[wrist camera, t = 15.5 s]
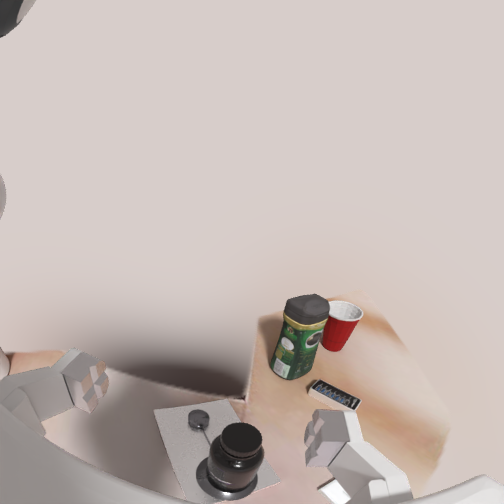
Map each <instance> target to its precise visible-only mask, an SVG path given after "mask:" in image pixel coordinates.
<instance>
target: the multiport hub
mask: <svg viewBox="0 0 504 504" xmlns="http://www.w3.org/2000/svg"><path fill="white" fill-rule="evenodd" d="M308 395H309V396H311V397H313V398H315V399H316V400H318V401H320V402H322V403H324V404H326V405H327V406H329V407H331V408H333V409H335V410H354V411H356V409H357V408H358V406H359V405H360V403H361V401H362V400H361V399H359V398H357V397H355V396H353V395H351V394H349V393H347V392H345V391H342V390H340V389H338V388H337V387H335V386H333V385H331V384H329V383H327V382H325V381H323V380H321V379H319V380H317V381H316V382H315V383H314V384H313V385H312V386H311V387H310V390H309V392H308Z"/></svg>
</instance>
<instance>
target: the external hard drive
mask: <svg viewBox="0 0 504 504" xmlns="http://www.w3.org/2000/svg"><path fill="white" fill-rule="evenodd" d="M318 491H319V492H320V493H321V494H322V495H323V496H324V497H325V498H326V499H327V500H328V501H329V502H330V503H331V504H345V503H346V502H347V501H348V500H350V499H351V498H350V496H349V495H348V494H347V493H346V491H345V490H344V489H343V488H342V486H341V485H340V484H339V483H338V481H337V480H336V479H335V480H333V481H332V482H330V483H329V484H327V485H325V486H324V487H322V488H320V489H319V490H318Z"/></svg>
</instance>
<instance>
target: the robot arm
mask: <svg viewBox="0 0 504 504" xmlns="http://www.w3.org/2000/svg"><path fill="white" fill-rule="evenodd" d="M35 1H36V0H0V38H1V37H3V36H5V35H6V34H8V33H9V32H10V31H11V30H13V29H14V28H15V27H16V26H17V25H18V24H19V23H20V22H21V20H22V19H23V17H24V16H25V15H26V14H27V12H28V11H29V10H30V9H31V7H32V6H33V4H34V3H35ZM5 203H6V189H5V184H4V181H3V179H2V177H1V175H0V218H1V216H2V214H3V211H4V208H5ZM9 367H10V365H9V360H8V358H7V356H6V355H5V354H4V352H3V351H2V349H1V347H0V504H199V503H194V502H190V501H186V500H182V499H179V498H175V497H171V496H168V495H165V494H161V493H158V492H155V491H152V490H149V489H146V488H144V487H141V486H138V485H136V484H133V483H130V482H128V481H125V480H123V479H121V478H118V477H116V476H114V475H111V474H109V473H107V472H105V471H103V470H101V469H99V468H97V467H95V466H93V465H91V464H89V463H87V462H85V461H83V460H81V459H79V458H77V457H76V456H74V455H72V454H70V453H69V452H67V451H65V450H64V449H62V448H60V447H59V446H57V445H55V444H54V443H52V442H51V441H49V440H48V439H46V438H45V437H44V435H45V434H46V431H45V429H44V427H43V425H42V424H41V421H44V420H46V419H48V418H51V417H53V416H55V415H57V414H60V413H62V412H64V411H66V410H68V409H71V408H73V407H74V406H75V407H77V408H79V409H81V410H83V411H86V412H88V413H90V414H91V413H92V411H93V410H94V409H95V407H96V406H97V404H98V398H101V397H103V396H104V395H105V393H106V391H107V388H108V383H109V380H108V376H107V375H106V373H105V372H104V370H105V369H106V365H105V362H104V361H102V360H100V359H98V358H96V357H93V356H91V355H89V354H87V353H84V352H82V351H80V350H78V349H76V348H72V349H70V350H69V351H68V352H67V353H66V354H65V355H64V356H63V357H62V358H60V359H59V360H58V361H57V362H56V363H55V364H54V365H53V366H52V367H51V368H50V367H44V368H40V369H35V370H31V371H27V372H22V373H18V374H13V375H9V376H7V375H8V372H9ZM312 418H313V420H312V421H311V422H309V423H308V425H307V427H306V431H305V437H304V442H305V445H306V446H307V447H308V449H307V451H306V453H305V458H306V467H328V470H329V471H330V472H331V474H332V475H333V476H334V478H335V479H336V480H337V481H338V483H339V484H340V485H341V486H342V488H343V489H344V490H345V491H346V493H347V494H348V495H349V496H350V498H351V499H350V500H348V501H347V502H346V503H345V504H504V485H503V484H501V483H500V482H498V481H496V480H495V479H493V478H491V477H489V476H487V475H479V476H476V477H474V478H471V479H469V480H467V481H465V482H462V483H460V484H457V485H455V486H452V487H450V488H447V489H444V490H441V491H439V492H436V493H433V494H430V495H426V496H423V497H420V498H416V499H413V495H412V492H411V488H410V485H409V482H408V479H407V475H406V474H405V473H404V472H403V471H402V470H400V469H399V468H398V467H397V466H396V465H394V464H393V463H392V462H391V461H390V460H388V459H387V458H386V457H385V456H384V455H382V454H381V453H380V452H379V451H378V450H377V449H375V448H374V447H373V446H372V445H371V444H370V443H369V442H364V440H363V436H362V432H361V429H360V425H359V422H358V418H357V415H356V412H355V411H354V410H323V409H316V410H315V411H314V413H313V415H312Z"/></svg>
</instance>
